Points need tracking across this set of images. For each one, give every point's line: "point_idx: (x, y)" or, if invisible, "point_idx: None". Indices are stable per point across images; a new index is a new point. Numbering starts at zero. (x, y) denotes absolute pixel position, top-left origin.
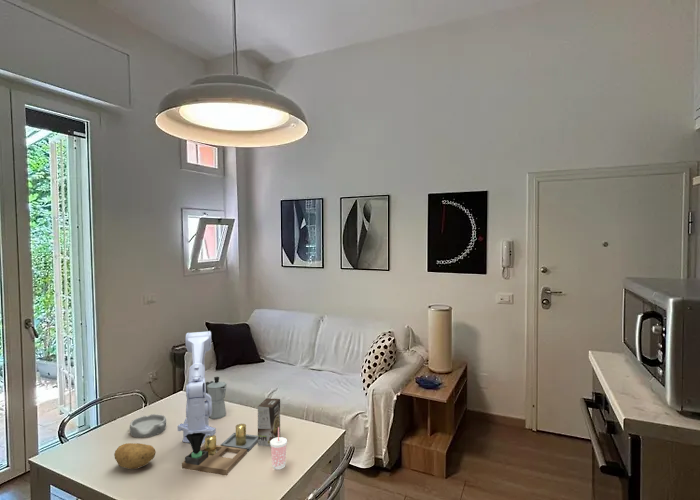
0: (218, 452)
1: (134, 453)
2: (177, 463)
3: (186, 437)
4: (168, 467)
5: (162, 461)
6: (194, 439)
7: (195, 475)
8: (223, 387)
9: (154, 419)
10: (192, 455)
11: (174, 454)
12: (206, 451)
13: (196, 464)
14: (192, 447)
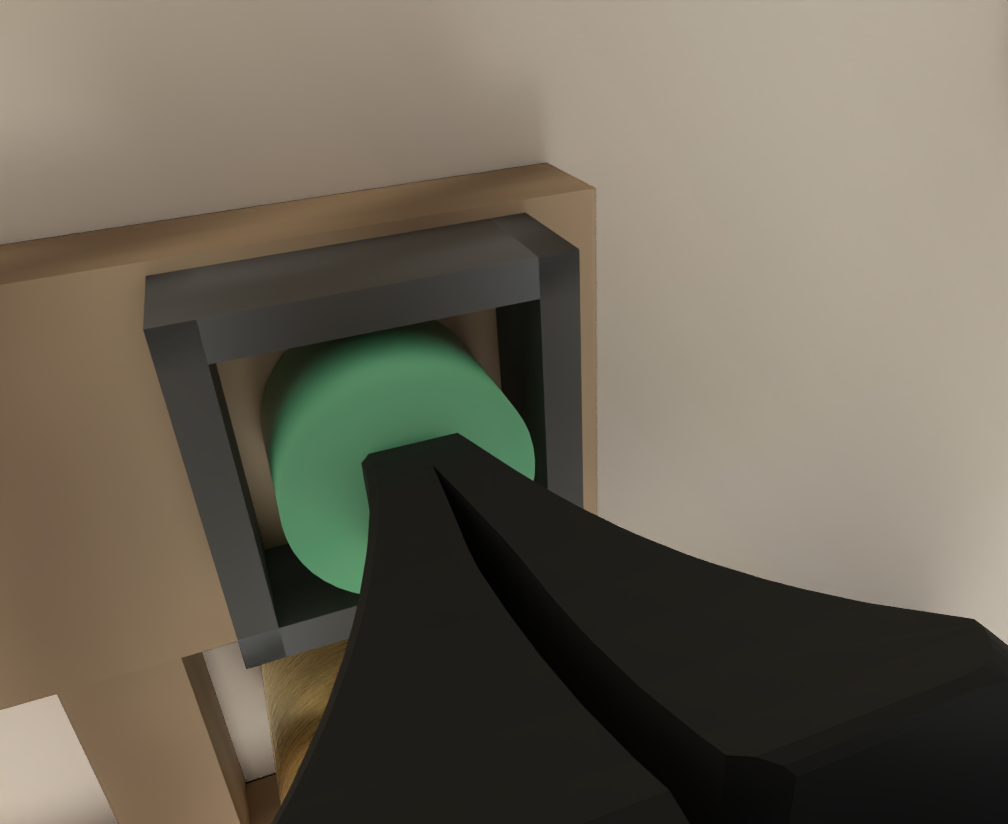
0: (171, 762)
1: None
2: (718, 257)
3: (982, 626)
4: (793, 96)
5: (961, 201)
6: (497, 755)
7: (53, 58)
8: None
9: None
10: (434, 369)
11: (885, 411)
12: (285, 650)
13: (214, 267)
14: (526, 496)
